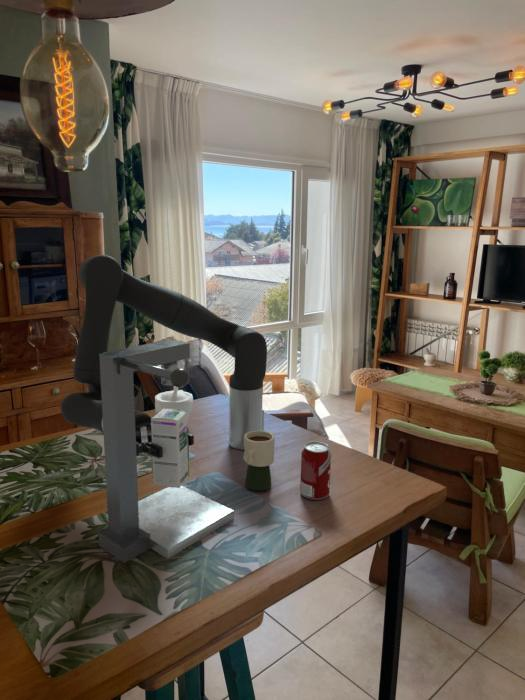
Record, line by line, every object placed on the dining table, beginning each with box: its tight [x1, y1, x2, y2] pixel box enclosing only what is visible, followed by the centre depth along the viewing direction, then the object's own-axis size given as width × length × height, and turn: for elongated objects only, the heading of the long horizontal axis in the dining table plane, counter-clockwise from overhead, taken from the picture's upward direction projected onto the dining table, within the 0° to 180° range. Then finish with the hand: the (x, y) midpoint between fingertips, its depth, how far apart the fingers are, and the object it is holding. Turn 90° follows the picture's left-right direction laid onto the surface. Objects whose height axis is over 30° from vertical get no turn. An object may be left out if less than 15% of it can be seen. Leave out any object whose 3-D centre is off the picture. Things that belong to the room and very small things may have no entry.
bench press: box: [97, 338, 235, 564], centre depth 99 cm, size 24×27×38 cm
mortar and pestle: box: [154, 358, 194, 417], centre depth 156 cm, size 13×12×25 cm
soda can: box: [299, 441, 332, 501], centre depth 119 cm, size 7×7×12 cm
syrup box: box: [151, 409, 190, 488], centre depth 104 cm, size 6×6×14 cm
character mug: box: [243, 430, 276, 491], centre depth 122 cm, size 11×7×13 cm, turn 157°
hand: (177, 446), depth 103 cm, fingers closed on syrup box, 7 cm apart
